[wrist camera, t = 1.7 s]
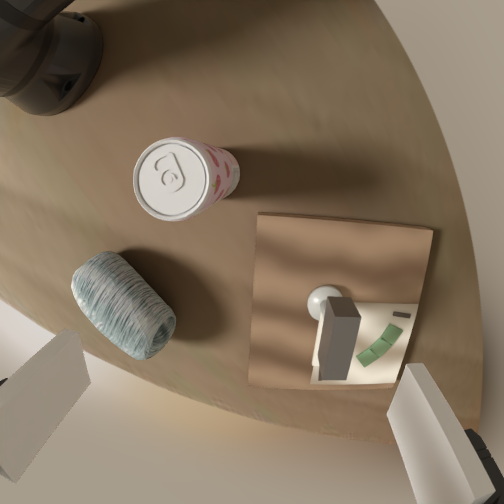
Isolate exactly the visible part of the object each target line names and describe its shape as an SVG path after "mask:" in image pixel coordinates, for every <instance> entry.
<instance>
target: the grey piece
mask: <svg viewBox="0 0 504 504" xmlns="http://www.w3.org/2000/svg"><path fill="white" fill-rule="evenodd" d="M307 306H308V310H309V313H310V315H311V316H312V317H313V318H314V319H316V320H318V321H319V324H318V330H317V336H316V342H315V348H314V354H313V359H312V366H320V371H321V376H322V380H347V376H348V372H349V368H350V364H351V360H352V357H353V352H354V348H355V344H356V340H357V336H358V331H359V327H360V322H361V315H360V314H359V312H358V310H357V308H356V306H355V304H354V302H353V300H352V299H351V297H342V295H341V293H340V291H339V290H338V289H337V288H336V287H334V286H331V285H321V286H318V287H316V288H315V289H313V290H312V291H311V293H310V294H309V296H308V299H307Z"/></svg>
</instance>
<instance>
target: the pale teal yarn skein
mask: <svg viewBox="0 0 504 504" xmlns="http://www.w3.org/2000/svg"><path fill="white" fill-rule="evenodd" d="M71 288H72V292H73V295H74V297H75V299H76V302H77V303H78V305H79V307H80V308H81V310H82V311H83V313H84V314H85V315H86V316H87V317H88V319H89V320H90V321H91V322H92V323H93V325H94V326H95V327H96V328H97V329H98V330H99V331H100V332H101V333H102V334H103V335H105V336H106V337H107V338H108V339H109V340H110V341H111V342H112V343H114V344H115V345H116V346H118V347H119V348H120V349H121V350H123V351H124V352H126V353H127V354H129V355H130V356H131V357H132V358H135V359H138V360H145V359H149V358H151V357H152V356H154V355H155V354H157V353H158V352H159V351H160V350H161V349H162V348H163V347H164V346H165V345H166V344H167V343H168V341H169V339H170V338H171V336H172V334H173V332H174V330H175V327H176V316H175V314H174V312H173V310H172V309H171V307H170V306H168V305H167V304H166V303H165V302H164V301H163V299H162V298H161V297H160V296H159V295H158V294H157V293H156V292H155V291H154V290H153V289H152V288H151V287H150V286H149V285H148V284H147V283H146V282H145V280H144V279H143V278H142V277H141V276H140V275H139V274H138V273H137V272H136V271H135V269H134V268H133V267H132V266H130V265H129V264H128V263H127V261H126V260H125V259H123V258H122V257H121V256H120V255H119V254H117V253H115V252H112V251H106V252H102V253H99V254H97V255H96V256H94V257H92V258H91V259H89V260H88V261H87V262H86V263H85V264H83V265H82V266H81V267H80V268H79V269H77V270H76V272H75V273H74V275H73V279H72V285H71Z"/></svg>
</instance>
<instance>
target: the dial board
mask: <svg viewBox="0 0 504 504" xmlns="http://www.w3.org/2000/svg"><path fill="white" fill-rule="evenodd" d="M432 236H433V230H431V229H429V228H427V227H421V226H412V225H403V224H394V223H384V222H374V221H364V220H353V219H342V218H331V217H319V216H306V215H292V214H278V213H263V212H258V215H257V233H256V251H255V268H254V286H253V304H252V321H251V338H250V355H249V372H248V386H252V387H265V388H283V389H311V390H352V389H380V388H393V385H394V383H395V380H396V378H397V375H398V372H399V369H400V366H401V363H402V360H403V357H404V354H405V351H406V348H407V345H408V342H409V338H410V335H411V331H412V328H413V324H414V321H415V317H416V313H417V310H418V306H419V300H420V296H421V292H422V287H423V283H424V279H425V274H426V269H427V264H428V259H429V254H430V248H431V242H432ZM321 285H331V286H334V287H336V288H337V289H338V290H339V291H340V293H341V295H342V297H351V299H352V300H353V302H354V304H355V306H356V308H357V310H358V312H359V314H360V315H361V322H360V327H359V331H358V336H357V340H356V344H355V348H354V352H353V357H352V360H351V364H350V368H349V372H348V376H347V380H322V376H321V371H320V366H312V359H313V354H314V348H315V342H316V336H317V330H318V324H319V321H318V320H316V319H314V318H313V317H312V316H311V315H310V313H309V310H308V306H307V299H308V296H309V294H310V293H311V291H312V290H313V289H315V288H316V287H318V286H321Z"/></svg>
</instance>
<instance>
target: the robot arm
mask: <svg viewBox="0 0 504 504" xmlns="http://www.w3.org/2000/svg"><path fill="white" fill-rule="evenodd" d="M73 1H75V0H0V97H5V98H7V99H8V100H9V101H11V102H12V103H14V104H15V105H16V106H18V107H19V108H21V109H22V110H23V111H25V112H27V113H29V114H33V115H40V116H51V115H55V114H58V113H60V112H62V111H64V110H65V109H67V108H68V107H70V106H71V105H72V104H73V103H74V102H75V101H76V100H77V99H78V98H79V97H80V96H81V95H82V94H83V93H84V92H85V90H86V89H87V87H88V86H89V84H90V83H91V81H92V79H93V78H94V76H95V74H96V71H97V69H98V66H99V64H100V60H101V56H102V51H103V38H102V33H101V30H100V28H99V27H98V25H97V24H96V23H95V22H94V21H93V20H91V19H90V18H88V17H87V16H85V15H83V14H80V13H77V12H67V11H62V10H64V9H65V8H66V7H67V6H68V5H70V4H71V3H72V2H73ZM90 383H91V382H90V378H89V375H88V371H87V367H86V363H85V359H84V355H83V350H82V346H81V341H80V336H79V332H77V331H73V330H69V329H64V330H62V331H61V332H60V333H59V334H58V335H57V336H55V337H54V338H53V339H52V340H51V341H50V342H49V343H47V344H46V345H45V346H44V347H43V348H42V349H41V350H39V351H38V352H37V353H36V354H35V355H34V356H33V357H32V358H30V359H29V360H28V361H27V362H26V363H25V364H24V365H23V366H22V367H21V368H20V369H18V370H17V371H16V372H15V373H14V374H13V375H12V376H11V377H10V378H9V379H8V378H5V379H3V380H1V381H0V474H1V475H2V476H3V477H5V478H6V479H8V480H9V481H11V482H12V483H14V484H16V483H17V482H18V480H19V479H20V477H21V476H22V474H23V473H24V472H25V470H26V469H27V467H28V466H29V465H30V463H31V462H32V460H33V459H34V458H35V456H36V455H37V453H38V452H39V451H40V449H41V448H42V447H43V445H44V444H45V443H46V441H47V440H48V438H49V437H50V436H51V434H52V433H53V432H54V430H55V429H56V428H57V426H58V425H59V424H60V422H61V421H62V420H63V418H64V417H65V416H66V414H67V413H68V412H69V411H70V409H71V408H72V407H73V405H74V404H75V403H76V401H77V400H78V399H79V398H80V396H81V395H82V394H83V392H84V391H85V390H86V389H87V387H88V386H89V385H90ZM387 417H388V419H389V422H390V425H391V427H392V430H393V433H394V436H395V438H396V441H397V444H398V447H399V449H400V453H401V455H402V458H403V461H404V464H405V467H406V470H407V473H408V476H409V479H410V482H411V485H412V488H413V492H414V495H415V498H416V501H417V504H504V478H503V476H502V474H501V472H500V470H499V468H498V466H497V465H496V463H495V461H494V459H493V458H491V454H490V452H489V450H488V449H486V448H487V447H486V445H485V443H484V442H483V440H482V438H481V437H480V436H479V435H478V434H477V433H476V432H474V431H473V430H472V429H467V430H463V428H462V426H461V425H460V423H459V421H458V419H457V418H456V416H455V414H454V413H453V411H452V409H451V408H450V406H449V404H448V403H447V401H446V399H445V398H444V396H443V394H442V393H441V391H440V390H439V388H438V386H437V385H436V383H435V382H434V380H433V378H432V377H431V375H430V374H429V372H428V371H427V369H426V368H425V366H424V364H423V363H415V364H406V366H405V369H404V372H403V375H402V377H401V380H400V383H399V385H398V388H397V390H396V393H395V396H394V398H393V400H392V403H391V405H390V408H389V410H388V412H387Z"/></svg>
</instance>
